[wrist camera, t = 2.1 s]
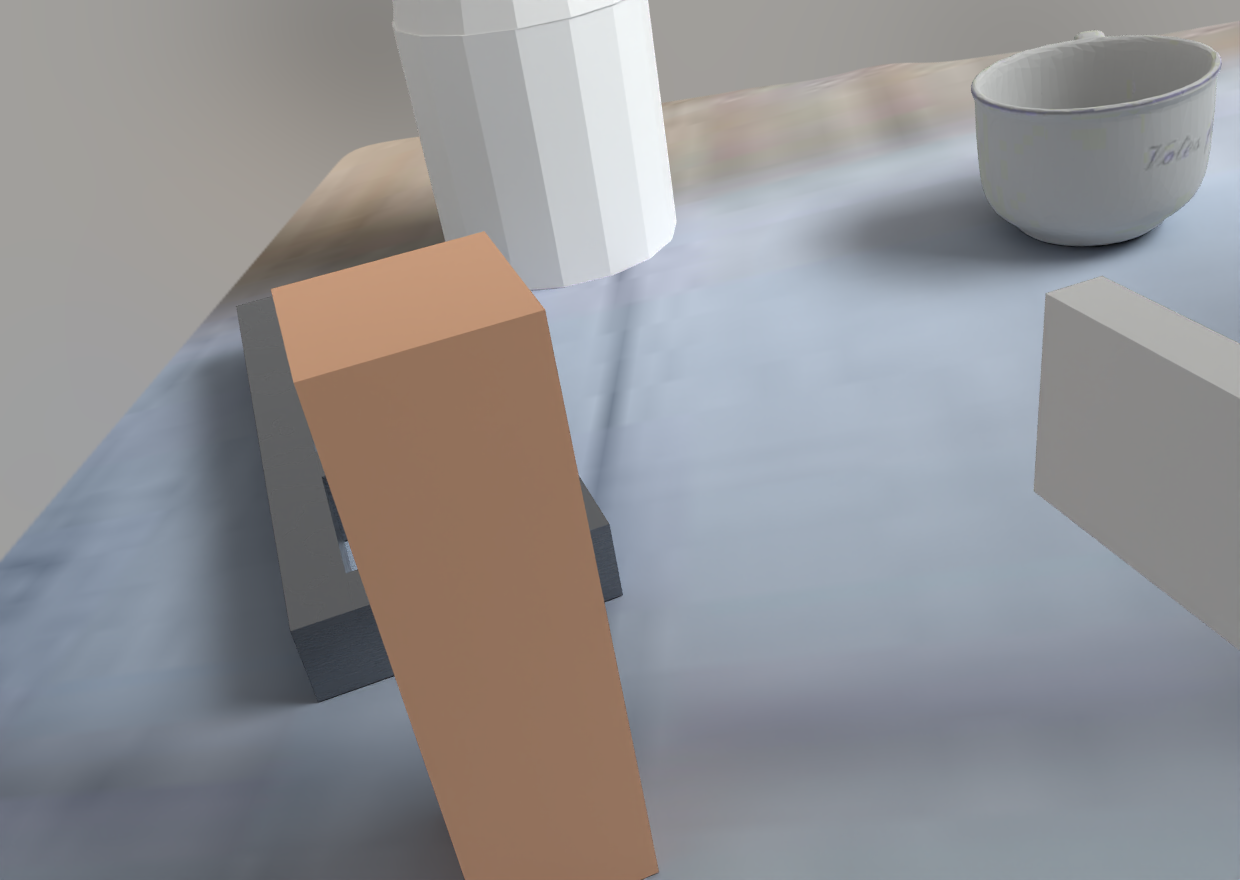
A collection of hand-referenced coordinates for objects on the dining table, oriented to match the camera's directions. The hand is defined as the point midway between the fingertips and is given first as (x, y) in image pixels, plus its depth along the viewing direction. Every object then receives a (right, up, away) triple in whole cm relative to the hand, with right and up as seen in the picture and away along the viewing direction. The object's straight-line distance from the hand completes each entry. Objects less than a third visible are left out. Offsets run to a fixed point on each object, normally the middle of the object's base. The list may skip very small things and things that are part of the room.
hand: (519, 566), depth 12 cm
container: (-2, +13, +54) cm, 56 cm away
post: (-1, -9, +18) cm, 21 cm away
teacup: (+25, +13, +47) cm, 55 cm away
